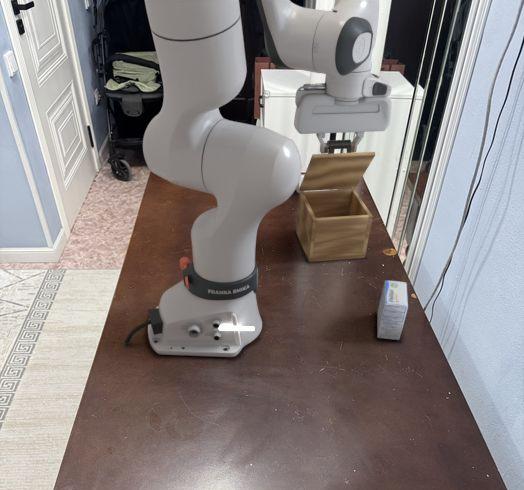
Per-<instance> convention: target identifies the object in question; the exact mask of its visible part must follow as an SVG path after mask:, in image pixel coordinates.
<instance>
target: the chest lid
mask: <svg viewBox="0 0 524 490" xmlns="http://www.w3.org/2000/svg"><path fill="white" fill-rule="evenodd" d="M351 142H352V140H351V139H334V140H333V139H329V140H327V141H326V143H327V144H328V145H329V149H328V153H325V154H321V153H317V154H316V153H313V154H312V155H311V157H310V159H309V162H308V165H307V168H306V170H305V173H304V174H305V175H304V174H303V175H304V178H303V181H302V183H301V186H300V188H299V189H300V191H316V190H334V189H337V190H344V189H356V188H357V186H358V185H359V183H360V181H361V179H362V178H363V176H364V175H365V173H366V172H367V170H368V168H369V166H370V165H371V163H372V161H373V160H374V158H375V157H376V151H362V152H351V149H350V148H351ZM334 150H346V152H340V153H339V152H336V153H335V152H334Z"/></svg>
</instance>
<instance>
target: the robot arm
mask: <svg viewBox="0 0 524 490" xmlns="http://www.w3.org/2000/svg"><path fill="white" fill-rule="evenodd" d="M256 4H257V7H258V8H257V9H258V13H259V16H260V19H261V23H262V27H263V36H264V46H265V51H266V53H267V56H268V58H269V59H270V61H271V63H272V64H273V65H274V66H275V67H276V68H278V69H286V70H299V71H304V72H310V73H315V74H323V75H325V79H324V82H322V83H321V82H320V83H304V84H303V85H302V86H300V87H298V89H297V90H296V92H295V99H294V100H295V101H294V103H295V106H296V108H295V112H294V119H293V126H294V128H295V130H296V132H297V133H298V134H299V135H305V134H306V135H310V134H311V135H313V134H314V135H315V136H316V137H317V140H318V142H319V145H320V146H319V152H320V154H329V145H328V144H327V142H325V141H324V139H325V138H326V134H342V133H354V134H355V136H354V138H353V139H352V140H351V148H350V149H351V153H357V149H358V145H359V144H360V143H361V141H363V138H364V137H365V133H370V132H372V133H373V132H385V131H386V130H387V129H388V128H389V126H390V124H391V117H392V108H393V107H392V106H393V103H392V99H391V97H390V96H391V94H392V92H393V91H392V90H393V86H392V84H391V82H389V81H388V80H387V79H385V78H384V77H382V76H380V75H377V74H375V73H372V67H373V64H372V54H373V50H374V47H375V46H376V41H377V34H378V27H379V16H380V0H334V5H333V7H332V8H331V10H323V9H316V8H310V7H309V8H308V7H304V6H300V5H299V4H296V3H293V2H292V1H291V0H256ZM144 5H145V10H146V14H147V19H148V23H149V27H150V31H151V35H152V40H153V43H154V48H155V51H156V56H157V61H158V64H159V70H160V75H161V81H162V87H163V98H162V99H163V101H162V106H161V109H160V111H159V112H158V113H157V114H156V115H155V116H154V117H153V118H151V120H150V122H149V123H148V125H147V127H146V129H145V131H144V134H143V139H142V153H143V158H144V161H145V164H146V165H147V168H148V169H149V171H151V173H153V174H154V175H155V176H157V177H160V178H161V179H163V180H165V181H167V182H169V183H171V184H173V185H175V186H178V187H181V188H185V189H189V190H192V191H193V190H194V191H197V192H201V193H205V194H209V195H211V196H214V197H215V199H216V205H217V206H216V207H212V208H210V209H208V210H206V211H203V212H202V213H201V214H199V215H198V216H197V218H196V219H195V220H194V222H193V224H192V226H191V230H190V241H191V252H192V261H191V259H190V258H189V257H187V256H182V257H181V258H180V259H179V269H180V270H181V271H182V280H180V281H178V282H177V283H175V284H174V285H173V286H171V287H170V288H168V289H166V290H165V291H164V292H163V293H162V295H161V297H160V300H159V304H158V305H157V306H156V307H155V308H150V309H147V314H148V320H146V321H144V322H142V323H141V324H139V325H137V326H135V327H134V328H133V329H131V331H130V332H129V333H128V335H127V337H126V339H125V340H124V343H125V344H126V345H127V344H129V343H130V341H131V340H132V338H133V336H134V335H135V334H136V333H137V332H138V331H140V330H142V329H143V328H146V327H147V337H148V338H147V339H148V342H149V345H150V347H151V348H152V350H153V351H154V352H156V354H158V355H162V356H163V355H165V356H166V355H167V356H187V357H188V356H190V357H191V356H192V357H216V358H219V357H220V358H234V357H236V356H238V355H239V354H240V352H241V351H242V349H243V348H244V347H245V346H247V345H248V344H250V343H252V342H253V341H254V340H256V339H257V338H258V336H259V335H260V334H261V332H262V329H263V320H262V317H261V314H260V311H259V307H258V306H259V305H258V302H257V292H258V285H259V277H258V276H259V269H258V265H257V261H256V246H257V235H258V230H259V226H260V224H261V222H262V221H263V219H264V217H265V216H266V215H267V214H268V213H269V212H270V211H271V210H273V209H275V208H276V207H278V206H280V205H282V204H284V203H285V202H286V201H287V200H288V199H290V197H292V195H293V194H294V192H295V191H296V187H297V185H298V183H299V180H300V176H301V175H302V168H303V167H302V165H303V164H302V158H301V154H300V153H301V152H300V151H299V148H298V146H297V145H296V142H295V141H294V140H293V139H291V138H290V137H288V136H286V135H283V134H281V133H279V132H276V131H274V130H272V129H270V128H268V127H264V126H260V125H254V124H249V123H244V122H240V121H239V122H238V121H233V120H229V119H227V118H224V117H223V116H222V114H221V112H220V109H219V108H221V107H223V106H225V105H226V104H228V103H230V102H231V101H232V100H233V99H235V98H236V97H237V96H238V95H239V93H240V92H241V91H242V89H243V87H244V84H245V81H246V78H247V73H248V70H247V59H246V50H245V41H244V34H243V33H244V31H243V24H242V16H241V14H242V13H241V8H240V7H241V5H240V0H144Z"/></svg>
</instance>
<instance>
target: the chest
mask: <svg viewBox="0 0 524 490" xmlns="http://www.w3.org/2000/svg"><path fill="white" fill-rule="evenodd" d="M373 217H374V216H373V214H372V213H371V211H370V210H369V209H368V206H366V204H365V203H364V201H363V199H362V198H361V196H360V194H359V193H358V192H357V190H356V188H353V189H337V190H326V191H307V192H299V193H298V205H297V219H296V235H297V237H298V240H299V242H300V245H301V247H302V250H303V252H304V254H305V256H306V259H307V262H308V263H312V262H314V263H315V262H325V261H326V262H327V261H339V260H355V259H365V258H366V253H367V249H368V243H369V237H370V234H371V228H372V222H373Z"/></svg>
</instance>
